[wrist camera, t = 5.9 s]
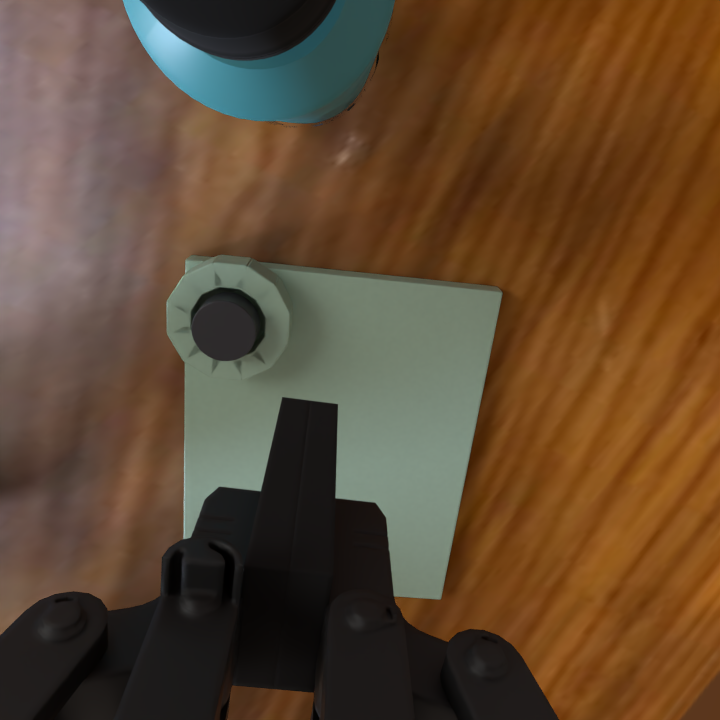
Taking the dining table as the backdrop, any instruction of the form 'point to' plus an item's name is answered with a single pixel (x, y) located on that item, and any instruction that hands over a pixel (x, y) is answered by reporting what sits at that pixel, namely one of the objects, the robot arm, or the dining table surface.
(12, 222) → the dining table surface
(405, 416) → the scale
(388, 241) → the dining table surface
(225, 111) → the beverage bottle
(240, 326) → the button
